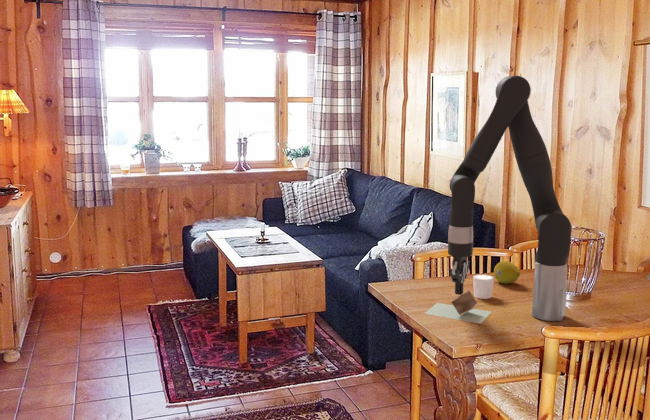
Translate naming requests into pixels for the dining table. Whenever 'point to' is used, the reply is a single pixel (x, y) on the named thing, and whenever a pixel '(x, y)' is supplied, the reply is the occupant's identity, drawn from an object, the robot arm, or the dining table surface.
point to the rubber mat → (452, 313)
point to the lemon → (506, 272)
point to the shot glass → (483, 286)
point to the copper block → (464, 303)
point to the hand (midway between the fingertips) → (459, 293)
